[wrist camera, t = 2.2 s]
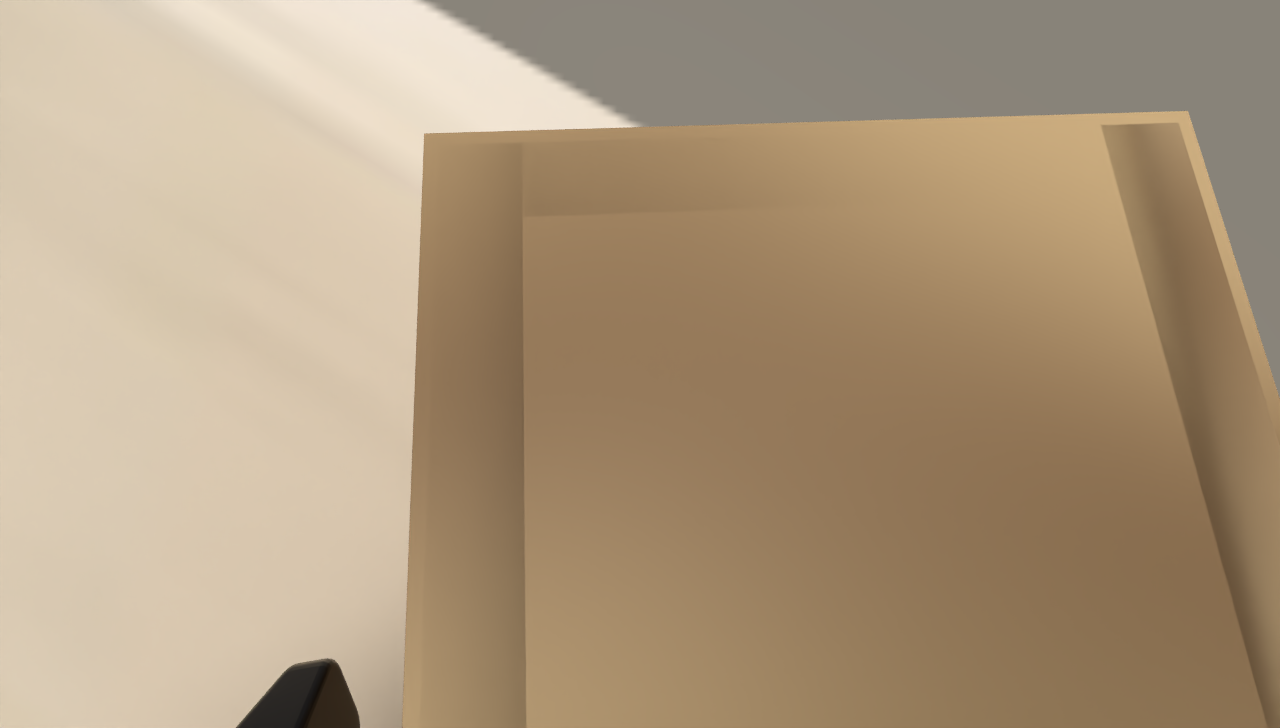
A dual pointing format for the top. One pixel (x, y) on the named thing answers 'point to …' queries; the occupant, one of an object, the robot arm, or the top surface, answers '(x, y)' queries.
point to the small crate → (839, 431)
